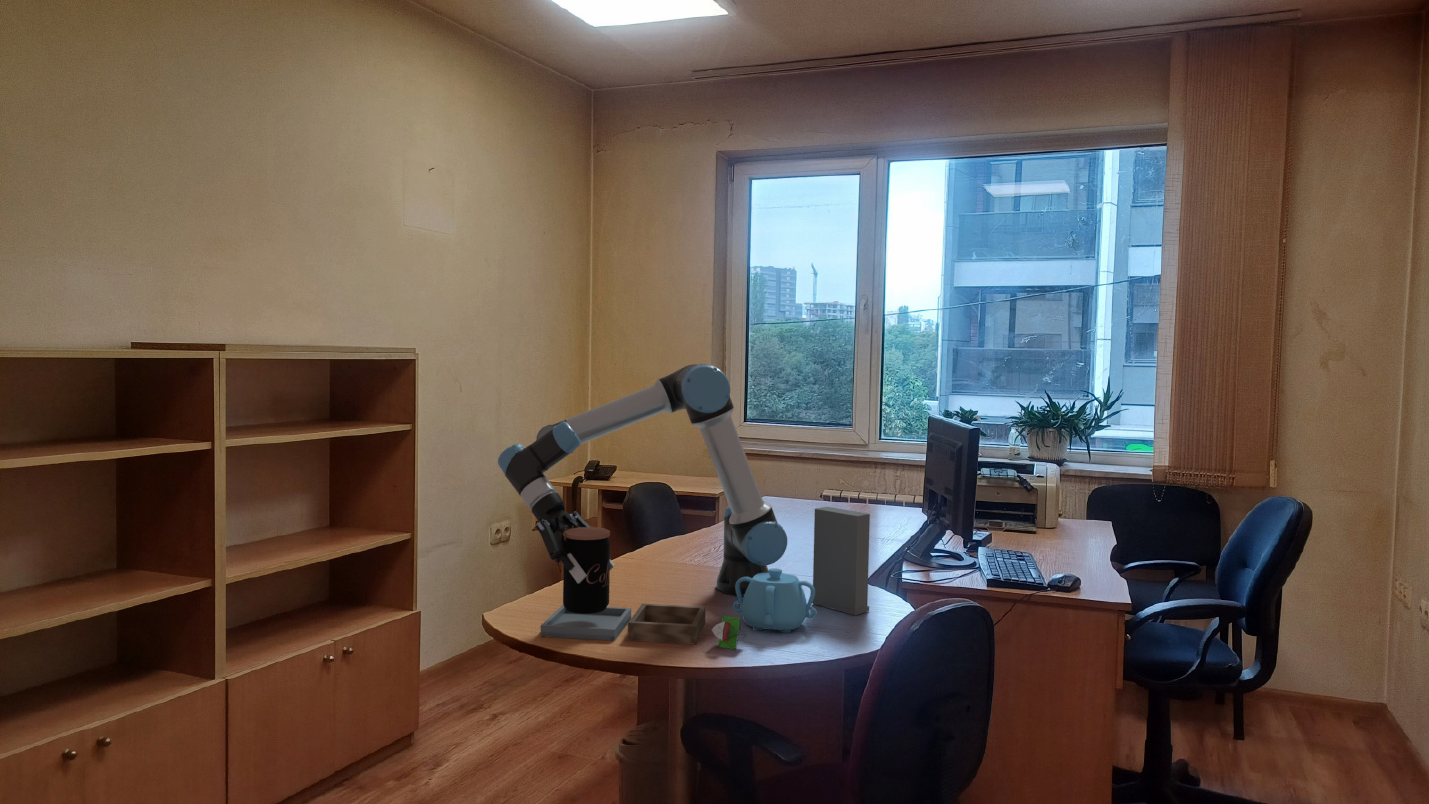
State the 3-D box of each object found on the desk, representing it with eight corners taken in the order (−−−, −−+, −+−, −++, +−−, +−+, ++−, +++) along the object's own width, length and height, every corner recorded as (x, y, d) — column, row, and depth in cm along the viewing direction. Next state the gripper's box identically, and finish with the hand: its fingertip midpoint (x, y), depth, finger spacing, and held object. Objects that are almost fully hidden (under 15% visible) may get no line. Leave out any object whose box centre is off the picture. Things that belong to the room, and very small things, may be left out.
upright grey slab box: (869, 611, 218) (872, 513, 217) (855, 616, 214) (857, 516, 213) (826, 600, 228) (828, 506, 227) (811, 604, 224) (813, 508, 223)
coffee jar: (588, 617, 194) (590, 538, 193) (553, 609, 199) (554, 532, 199) (618, 606, 203) (619, 530, 202) (583, 599, 208) (584, 525, 208)
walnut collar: (705, 623, 206) (705, 606, 206) (696, 644, 190) (696, 626, 190) (641, 620, 208) (642, 603, 207) (627, 640, 192) (627, 622, 192)
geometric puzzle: (723, 628, 195) (715, 605, 191) (752, 632, 193) (744, 609, 188) (713, 655, 190) (705, 632, 186) (742, 659, 188) (735, 636, 183)
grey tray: (631, 618, 209) (631, 608, 209) (614, 640, 192) (614, 629, 192) (563, 614, 211) (563, 604, 211) (540, 636, 194) (540, 625, 194)
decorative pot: (787, 613, 216) (788, 559, 215) (821, 631, 201) (822, 573, 201) (728, 620, 209) (729, 564, 208) (759, 640, 194) (760, 580, 194)
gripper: (563, 504, 217) (614, 573, 211) (502, 518, 197) (556, 595, 190) (581, 485, 215) (633, 555, 208) (520, 497, 194) (576, 575, 188)
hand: (596, 574), depth 199 cm, fingers closed on coffee jar, 11 cm apart
